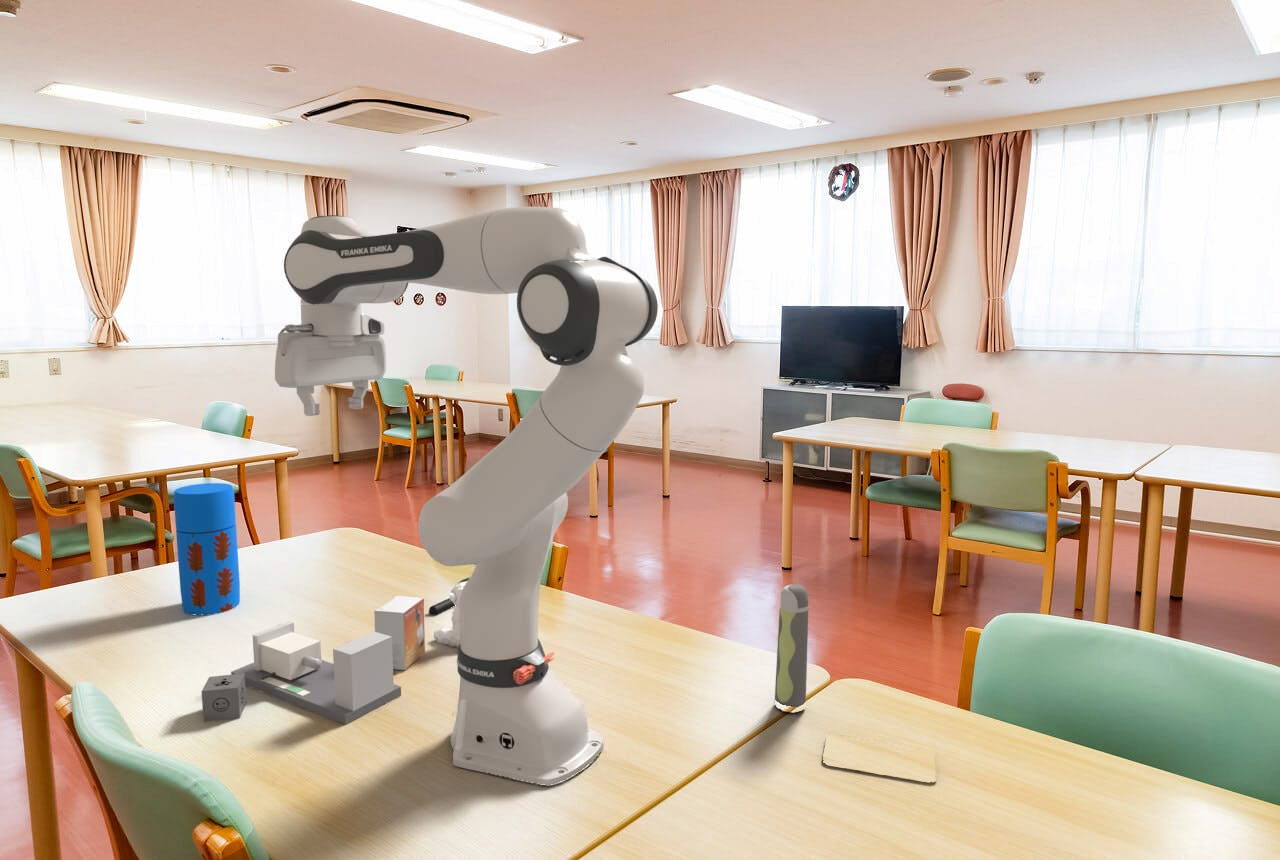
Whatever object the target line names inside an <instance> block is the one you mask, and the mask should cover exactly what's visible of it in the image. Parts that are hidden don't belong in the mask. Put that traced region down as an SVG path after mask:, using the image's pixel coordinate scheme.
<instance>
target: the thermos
mask: <svg viewBox="0 0 1280 860" xmlns="http://www.w3.org/2000/svg"><path fill="white" fill-rule="evenodd" d="M233 487H234V486H233V485H232V484H229V483H221V482H211V483H196V484H190V485H189V484H188V485H186V486H181V487H178V488H176V489H174V492H173V506H174V507H173V509H174V519H175V534H176V535H175V536H176V547H177V548H176V549H177V560H178V562H177V563H178V573H179V576H178V578H179V588H180V596H181V597H180V599H181V604H182V611H183V610H184V611H183V613H184V612H185V613H184V614H187V613H188V614H187V615H189V614H196V615H195V616H208V615H207V614H211V615H215V614H214V613H218V614H221V613H220V612H222V613H225V612H224V611H226V612H228V611H231V610H233V609H235V608H237V607H238V606H239V605H240V603H239V602H241V601H240V600H241V597H240V596H241V589H240V588H241V587H240V586H241V584H240V568H239V566H240V565H239V550H238V549H239V548H238V535H237V518H236V503H235V492H234V488H233ZM237 605H238V606H237ZM236 606H237V607H236ZM234 607H235V608H234ZM232 608H233V609H232ZM230 609H231V610H230ZM227 610H228V611H227ZM201 614H203V615H201Z"/></svg>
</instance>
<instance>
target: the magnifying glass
mask: <svg viewBox="0 0 1280 860" xmlns="http://www.w3.org/2000/svg"><path fill="white" fill-rule="evenodd" d="M469 578H470V577H467V578H464V579H462V580H460V581H458V582H457V584H459V583H462V582H467V581H468V580H469ZM453 606H455V605H454V603H453V602H452V601H451V600H450V597H449V598H447V599H444V600H442V601H440V602H438V603H435V604H433V605H432V606H429V609H428V613H429V615H431V616H438V615H441V614H442V613H444V612H446V611H448V610H450V609H452V608H454V607H453ZM451 607H452V608H451Z"/></svg>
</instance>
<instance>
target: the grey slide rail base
mask: <svg viewBox="0 0 1280 860" xmlns="http://www.w3.org/2000/svg"><path fill="white" fill-rule="evenodd" d="M332 654H333V655H332V657H333V659H332V660H333V663H332V662H329V661H327V660H324V659H321V661H322V667H320V668H319V669H317V670H316V669H315V670H313V671H311V672H308V673H306V674H304V675H301V676H299V677H297V678H295V679H292V680H288V679H286V678H283V677H280V676H278V675H273V676H271V677H269V678H266V679H264V680H261V677H263V676H266V675H268V674H270V673H269V672H267V671H264V670H260V671H258V670H256V669H254V662H252V663H250V664H247V665H245V666H242V667H238V668H237V669H234V670H232V671H230V675H233V674H243V673H245V687H248V688H250V689H253V690H255V691H259V692H260V693H264V694H266V695H269V696H271V697H274V698H277V699H278V700H281V701H285V702H286V703H289V704H291V705H295V706H296V707H299V708H302V709H305V710H307V711H310V712H312V713H315V714H317V715H320V716H322V717H324V718H328V719H330V720H332V721H335V722H338V723H340V724H343V725H348V724H349V723H351V722H354V721H355V720H358V719H360V718H362V716H365V715H368V713H370V712H373V711H374V710H377V709H378V708H381V707H382V706H384V705H386V704H388V703H389V702H392V701H394V700H395V699H397V698H399V697H401V696H402V687H401V686H400V685H397V684H395V683H394V669H393V653H392V637H391V636H388V635H384V634H381V633H378V632H375V631H372V632H370V633H368V634H365V635H362V636H360V637H358V638H355V639H353V640H351V641H348V642H346V643H344V644H342V645H338V646H336V647H334V648H332Z"/></svg>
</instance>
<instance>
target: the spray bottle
mask: <svg viewBox="0 0 1280 860" xmlns="http://www.w3.org/2000/svg"><path fill="white" fill-rule="evenodd" d="M778 615H779V617H778V632H777V634H778V635H777V649H776V651H777V652H776V665H775V666H776V670H775V686H774V687H775V688H774V701H775V700H776V701H777V702H779V703H780V704H782V705H786V706H791V707H799V706H801V705H803V704H804V703H805V702H806V703H807V701H806V700H807V678H808V677H807V675H808V674H807V673H808V672H807V671H808V638H809V596H808V591H807V589H806V587H804V586H803V585H801V584H797V583H795V584H794V583H793V584H788V585H786V586H784V587H783V588H782V589H781V592H780V607H779V613H778Z"/></svg>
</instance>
